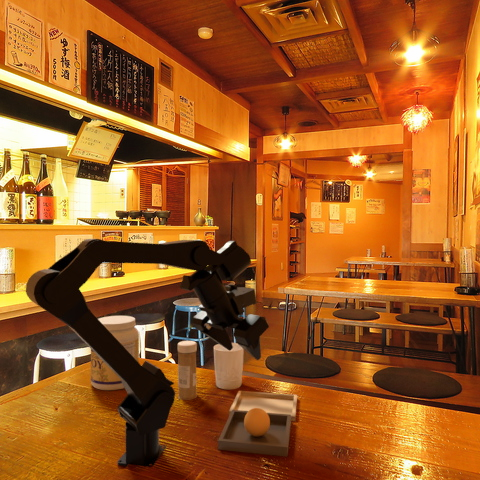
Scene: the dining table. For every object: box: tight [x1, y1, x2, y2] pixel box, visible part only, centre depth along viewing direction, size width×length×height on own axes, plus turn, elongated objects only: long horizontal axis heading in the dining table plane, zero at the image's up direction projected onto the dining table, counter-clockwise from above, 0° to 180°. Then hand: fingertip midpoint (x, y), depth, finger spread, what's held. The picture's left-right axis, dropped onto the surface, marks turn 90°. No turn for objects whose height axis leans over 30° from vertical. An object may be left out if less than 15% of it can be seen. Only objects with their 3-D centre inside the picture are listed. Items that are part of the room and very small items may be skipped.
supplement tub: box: [90, 315, 140, 391], centre depth 102 cm, size 12×12×17 cm
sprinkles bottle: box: [177, 340, 198, 401], centre depth 92 cm, size 5×5×14 cm
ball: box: [244, 408, 270, 437], centre depth 74 cm, size 5×5×5 cm
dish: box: [217, 410, 292, 457], centre depth 74 cm, size 12×12×2 cm
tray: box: [228, 390, 298, 422], centre depth 86 cm, size 11×14×2 cm
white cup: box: [213, 342, 245, 390], centre depth 101 cm, size 8×8×10 cm
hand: (244, 353), depth 82 cm, fingers open, 9 cm apart
